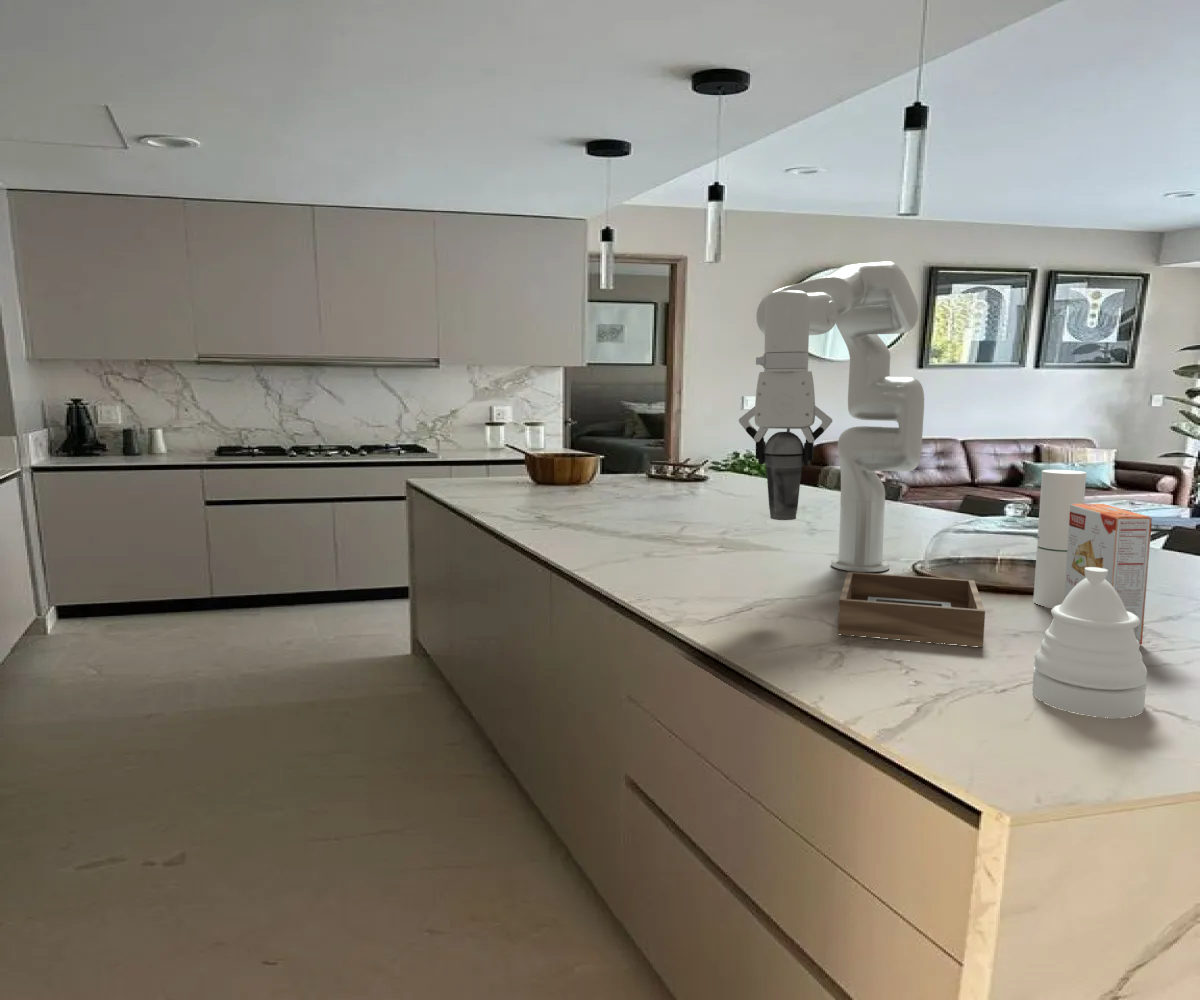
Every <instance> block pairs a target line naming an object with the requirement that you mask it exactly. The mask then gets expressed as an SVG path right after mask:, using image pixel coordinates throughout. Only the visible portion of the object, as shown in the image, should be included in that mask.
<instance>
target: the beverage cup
mask: <svg viewBox="0 0 1200 1000" xmlns="http://www.w3.org/2000/svg"><path fill="white" fill-rule="evenodd" d="M764 460H765V463H764V464H765V467H766V468H765V470H766V479H767V481H766V484H767V495H768V496H767V498H768V509H769V515H770V519H771V520H776V521H793V520H796V519H797V513H798V509H799V508H798V506H799V499H800V498H799V496H800V488H801V479H802V469H803V466H804V444H803V442H802V440H801V438H800V437H799V436H798V435H797V434H795V433H793V432H792V431H791V429H786V431H778V432H775V433H773V434H772V435H771V436H770V437H769V438H768V439H767V441H766V445H765V449H764Z"/></svg>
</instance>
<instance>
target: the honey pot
mask: <svg viewBox="0 0 1200 1000" xmlns="http://www.w3.org/2000/svg"><path fill="white" fill-rule="evenodd" d="M1084 570H1085V576H1086V578H1085V579H1083V580H1082V581H1080V582H1079V583H1078V584H1077V585H1076V586H1075V587H1074V588H1073V589H1072V590H1071V591H1070V592H1069V594H1068V595H1067V597H1066V598H1065V599H1064V601H1063V602H1062V604H1061V605H1058V606H1055V607H1054V608H1051V610H1050V612H1051V616H1052V617H1053V619H1052V620H1051V623H1050V624H1049V626H1048V628H1047V629H1046V630H1045V631H1044V637H1043V639H1042V640H1041V641H1040V642H1041V643H1040V647H1039V648H1038V650H1036V652H1035V654H1034V662H1033V665H1034V667H1033V672H1032V673H1033V674H1032V675H1033V676H1032V688H1031V691H1033V693H1032V695H1033V694H1034V695H1035V696H1036V697H1037V698H1038V699H1040V700H1041V701H1043V702H1045V703H1047V704H1049V705H1051V706H1054V707H1056V708H1060V709H1063V710H1066V711H1070V712H1075V713H1079V714H1084V715H1090V716H1096V717H1104V718H1103V719H1108V718H1120V719H1122V718H1121V717H1130V716H1135V715H1137V714H1139V713H1141V712H1142V711H1143V712H1144V710H1145V703H1146V690H1147V684H1146V682H1147V676H1148V670H1147V667H1146V665H1145V664H1144V661H1143V654H1142V653H1141V651H1140V647H1141V645H1140V644H1139V642H1138V640H1137V639H1136V637H1135V633H1134V630H1133V628H1135V627H1137V626H1138V625H1139V624H1140V620H1139V618H1138V616H1136V615H1134V614H1133V613H1131V612H1128V611H1126V609H1125V607H1124V605H1123V603H1122V601H1121V599H1120V597H1119V595H1118V594H1117V592H1116V590H1115V589H1114V588H1113V586H1112V585H1111V584H1110V583H1109V582H1108V581H1107V580H1105V578H1106V576H1107V573H1108V570H1107V569H1103V568H1097V567H1086V568H1085V569H1084ZM1034 695H1033V696H1034ZM1041 701H1040V702H1041ZM1051 706H1050V707H1051ZM1143 709H1144V710H1143ZM1143 712H1142V713H1143ZM1096 717H1095V718H1096ZM1105 717H1106V718H1105ZM1107 717H1108V718H1107ZM1135 717H1136V716H1135ZM1130 718H1131V717H1130Z"/></svg>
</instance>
